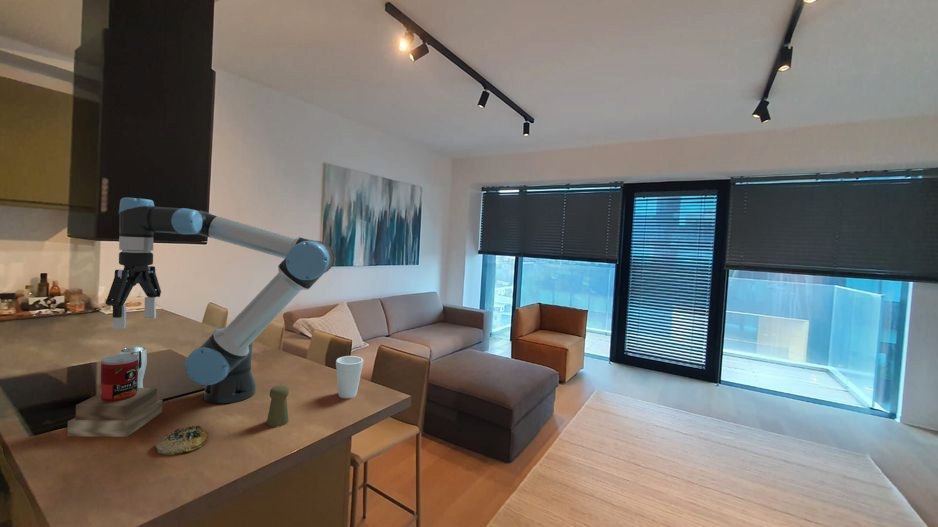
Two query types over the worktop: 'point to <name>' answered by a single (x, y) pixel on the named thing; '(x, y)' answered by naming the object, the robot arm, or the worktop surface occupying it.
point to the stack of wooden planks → (115, 415)
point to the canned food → (119, 377)
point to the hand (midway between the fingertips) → (135, 323)
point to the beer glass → (141, 361)
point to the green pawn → (278, 406)
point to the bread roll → (183, 440)
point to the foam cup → (348, 375)
